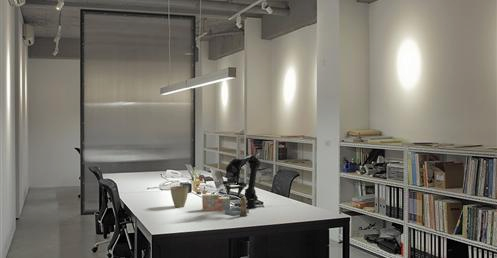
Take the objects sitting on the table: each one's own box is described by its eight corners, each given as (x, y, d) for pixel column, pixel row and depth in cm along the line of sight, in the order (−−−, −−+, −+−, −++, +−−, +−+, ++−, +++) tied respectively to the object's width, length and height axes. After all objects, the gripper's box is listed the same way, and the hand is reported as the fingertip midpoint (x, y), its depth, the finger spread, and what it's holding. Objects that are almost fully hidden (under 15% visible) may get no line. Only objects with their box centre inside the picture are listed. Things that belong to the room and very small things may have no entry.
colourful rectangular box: (228, 208, 387) (228, 193, 387) (230, 209, 381) (230, 194, 381) (202, 209, 383) (202, 194, 383) (203, 211, 377) (203, 195, 377)
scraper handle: (243, 214, 361) (243, 196, 361) (248, 215, 357) (248, 197, 357) (238, 215, 357) (237, 197, 357) (243, 217, 353) (243, 198, 353)
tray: (237, 210, 377) (237, 207, 376) (248, 212, 368) (248, 209, 368) (224, 213, 366) (224, 210, 366) (235, 215, 358) (235, 212, 358)
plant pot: (172, 209, 385) (172, 189, 385) (168, 205, 399) (168, 186, 399) (190, 207, 391) (190, 188, 391) (186, 204, 405) (186, 185, 404)
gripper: (220, 172, 367) (217, 192, 364) (240, 173, 357) (237, 194, 354) (228, 174, 376) (225, 194, 373) (248, 176, 367) (245, 196, 363)
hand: (233, 195), depth 366 cm, fingers open, 9 cm apart
